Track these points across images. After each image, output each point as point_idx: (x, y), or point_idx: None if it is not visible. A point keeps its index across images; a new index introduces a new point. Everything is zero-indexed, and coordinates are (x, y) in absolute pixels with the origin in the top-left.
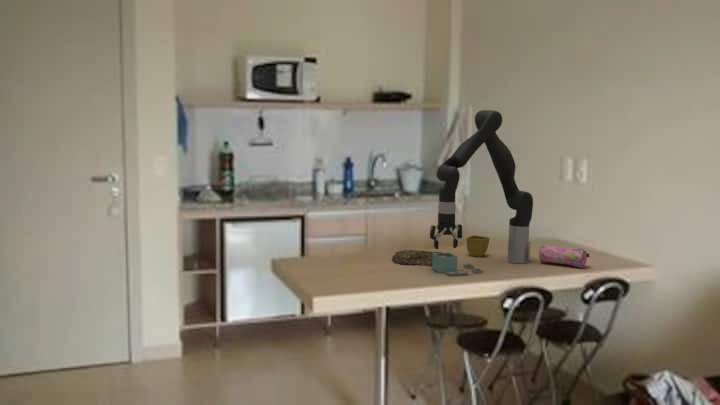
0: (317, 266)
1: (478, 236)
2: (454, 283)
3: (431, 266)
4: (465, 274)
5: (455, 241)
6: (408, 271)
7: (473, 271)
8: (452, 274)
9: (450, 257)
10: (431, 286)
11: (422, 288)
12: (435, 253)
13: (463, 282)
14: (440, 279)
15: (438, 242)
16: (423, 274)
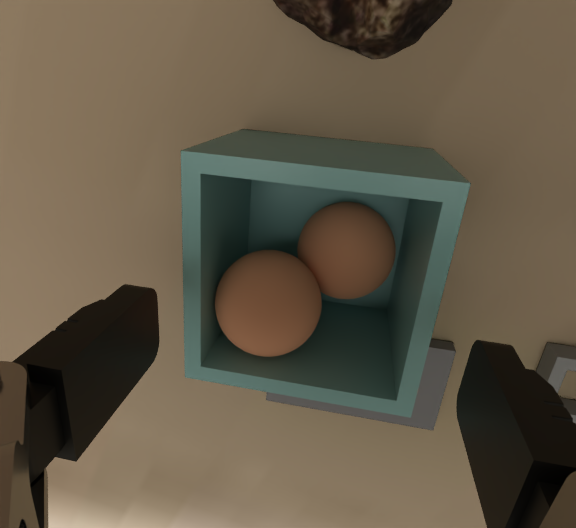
0: None
1: None
2: (221, 518)
3: (284, 11)
4: (403, 420)
5: (492, 518)
6: (9, 147)
7: (540, 375)
8: (293, 404)
9: (319, 395)
10: (76, 510)
11: None
12: (221, 161)
13: (284, 524)
14: (175, 427)
15: (97, 432)
16: (105, 278)
